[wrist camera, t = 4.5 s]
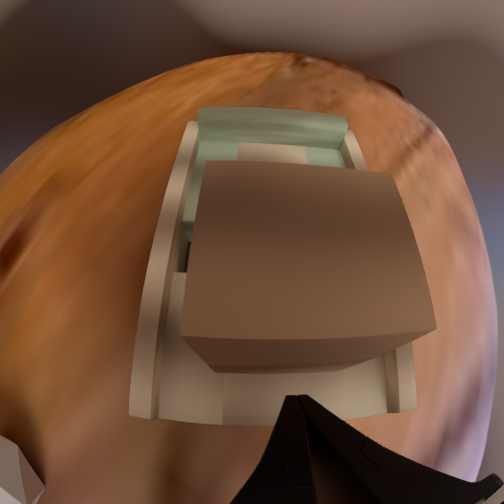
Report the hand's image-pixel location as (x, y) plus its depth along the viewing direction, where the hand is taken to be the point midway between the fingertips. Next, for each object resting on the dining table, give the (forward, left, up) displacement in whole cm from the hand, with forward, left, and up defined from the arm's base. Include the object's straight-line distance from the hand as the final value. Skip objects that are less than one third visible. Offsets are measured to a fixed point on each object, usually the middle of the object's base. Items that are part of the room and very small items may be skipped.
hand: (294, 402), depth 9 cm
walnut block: (+4, -3, -5) cm, 7 cm away
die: (+2, +23, -8) cm, 24 cm away
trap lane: (+8, -5, -8) cm, 12 cm away
